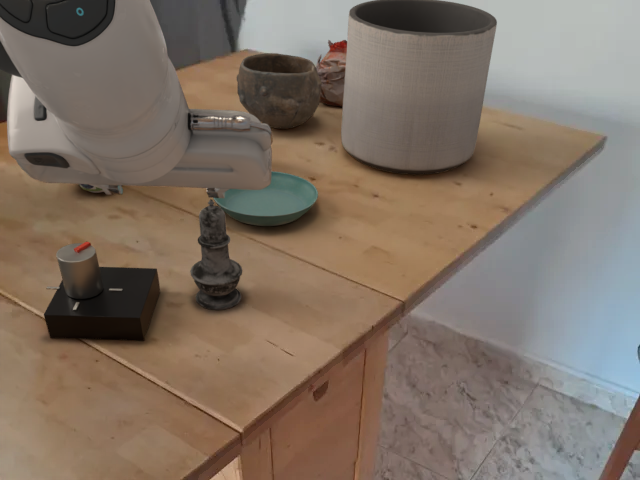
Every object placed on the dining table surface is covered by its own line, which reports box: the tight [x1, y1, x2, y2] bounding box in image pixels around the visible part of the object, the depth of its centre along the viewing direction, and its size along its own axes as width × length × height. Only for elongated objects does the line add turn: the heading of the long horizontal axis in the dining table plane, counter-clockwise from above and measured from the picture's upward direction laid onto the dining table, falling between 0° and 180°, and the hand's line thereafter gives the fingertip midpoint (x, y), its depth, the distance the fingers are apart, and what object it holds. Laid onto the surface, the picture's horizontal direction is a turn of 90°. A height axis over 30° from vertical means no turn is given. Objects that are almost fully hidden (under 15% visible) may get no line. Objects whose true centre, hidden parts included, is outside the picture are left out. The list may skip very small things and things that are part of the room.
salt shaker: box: [189, 198, 244, 311], centre depth 76 cm, size 6×6×12 cm
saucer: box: [212, 170, 319, 227], centre depth 96 cm, size 15×15×3 cm
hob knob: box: [55, 241, 103, 299], centre depth 73 cm, size 4×4×5 cm
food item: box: [315, 39, 347, 108], centre depth 130 cm, size 14×8×10 cm, turn 169°
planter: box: [340, 0, 498, 176], centre depth 107 cm, size 22×22×20 cm
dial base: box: [43, 266, 161, 342], centre depth 76 cm, size 11×10×3 cm
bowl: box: [236, 52, 322, 130], centre depth 118 cm, size 14×15×10 cm
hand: (166, 188), depth 64 cm, fingers open, 8 cm apart
